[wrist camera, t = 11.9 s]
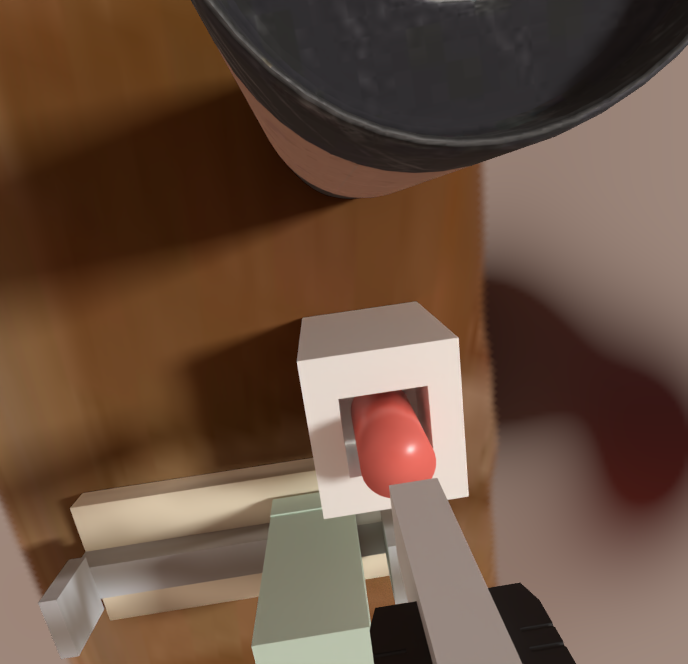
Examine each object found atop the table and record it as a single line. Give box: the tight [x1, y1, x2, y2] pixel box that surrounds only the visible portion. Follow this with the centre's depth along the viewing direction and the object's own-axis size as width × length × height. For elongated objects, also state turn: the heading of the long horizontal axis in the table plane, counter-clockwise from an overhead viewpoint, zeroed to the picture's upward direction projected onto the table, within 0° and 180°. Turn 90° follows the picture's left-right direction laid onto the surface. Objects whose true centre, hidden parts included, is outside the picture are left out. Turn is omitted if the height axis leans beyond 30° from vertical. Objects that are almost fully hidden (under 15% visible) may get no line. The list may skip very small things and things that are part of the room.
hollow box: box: [297, 302, 469, 519], centre depth 23 cm, size 8×7×8 cm
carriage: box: [252, 492, 374, 664], centre depth 23 cm, size 6×5×10 cm
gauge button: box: [351, 390, 436, 498], centre depth 19 cm, size 3×3×5 cm
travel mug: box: [191, 0, 688, 199], centre depth 14 cm, size 8×8×20 cm
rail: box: [38, 458, 408, 659], centre depth 27 cm, size 9×20×6 cm, turn 98°
